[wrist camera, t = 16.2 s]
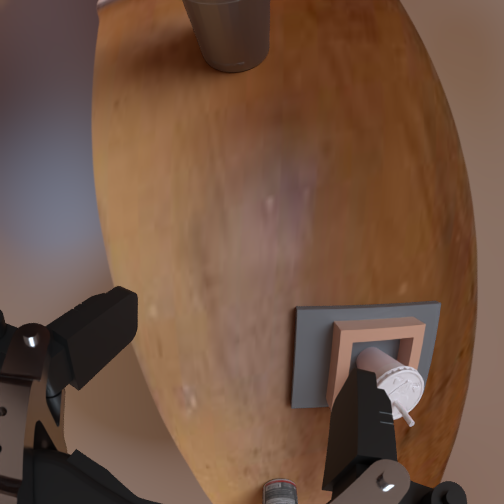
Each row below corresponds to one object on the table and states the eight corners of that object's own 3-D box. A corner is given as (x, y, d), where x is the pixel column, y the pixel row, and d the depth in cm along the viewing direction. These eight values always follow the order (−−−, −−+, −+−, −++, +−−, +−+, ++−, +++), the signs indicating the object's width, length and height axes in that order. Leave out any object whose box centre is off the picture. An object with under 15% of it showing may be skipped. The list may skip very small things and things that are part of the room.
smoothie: (336, 371, 34) (370, 439, 20) (363, 329, 33) (413, 381, 19) (374, 386, 34) (415, 449, 20) (400, 347, 33) (455, 397, 19)
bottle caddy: (296, 306, 35) (301, 318, 30) (435, 300, 34) (454, 309, 29) (290, 402, 36) (293, 423, 31) (418, 388, 35) (433, 404, 30)
